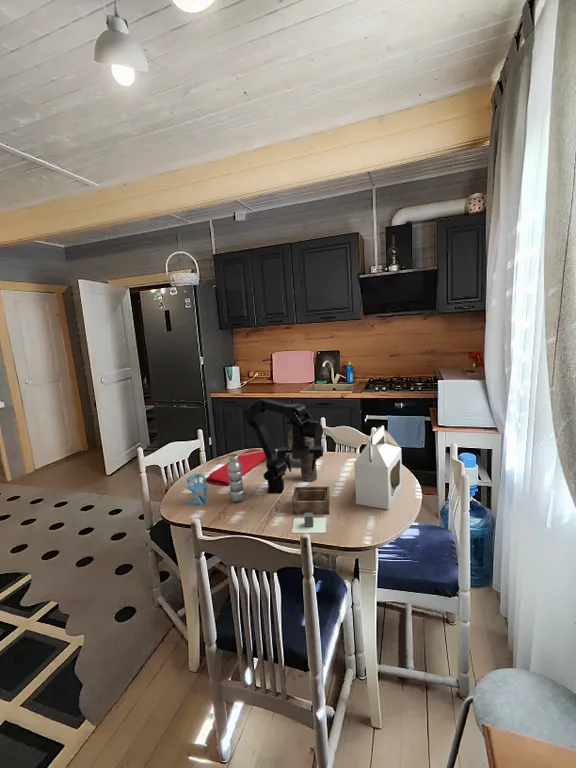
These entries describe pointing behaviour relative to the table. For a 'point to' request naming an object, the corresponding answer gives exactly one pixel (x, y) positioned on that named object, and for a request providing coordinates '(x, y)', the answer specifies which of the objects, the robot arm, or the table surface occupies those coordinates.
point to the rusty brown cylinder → (308, 463)
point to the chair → (197, 489)
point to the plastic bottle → (235, 479)
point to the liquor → (292, 461)
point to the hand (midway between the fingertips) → (301, 471)
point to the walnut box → (311, 500)
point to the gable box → (378, 471)
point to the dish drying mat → (247, 462)
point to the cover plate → (312, 530)
